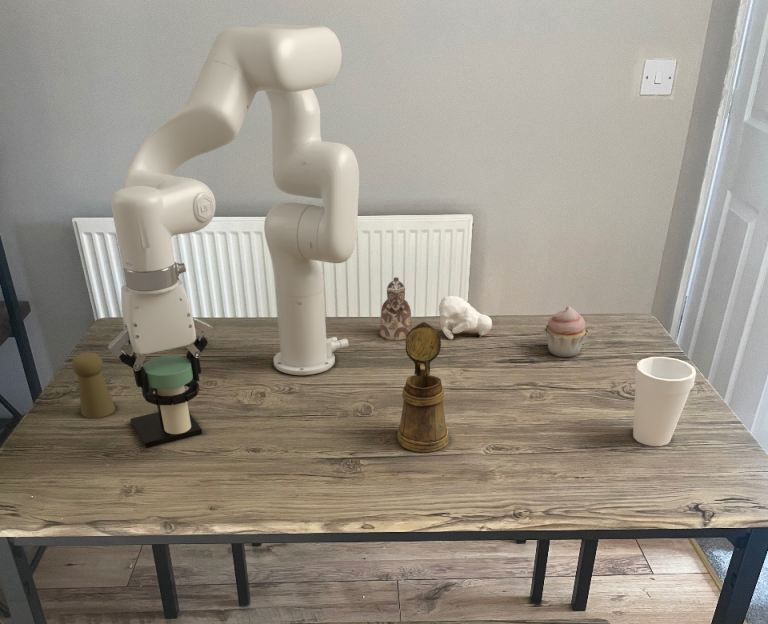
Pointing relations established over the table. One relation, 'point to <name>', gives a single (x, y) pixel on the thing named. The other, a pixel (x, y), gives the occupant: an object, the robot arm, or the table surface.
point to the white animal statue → (461, 317)
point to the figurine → (395, 313)
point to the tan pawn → (92, 386)
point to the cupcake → (565, 333)
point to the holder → (152, 424)
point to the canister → (171, 388)
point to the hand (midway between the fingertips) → (169, 383)
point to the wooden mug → (423, 395)
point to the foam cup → (660, 398)
